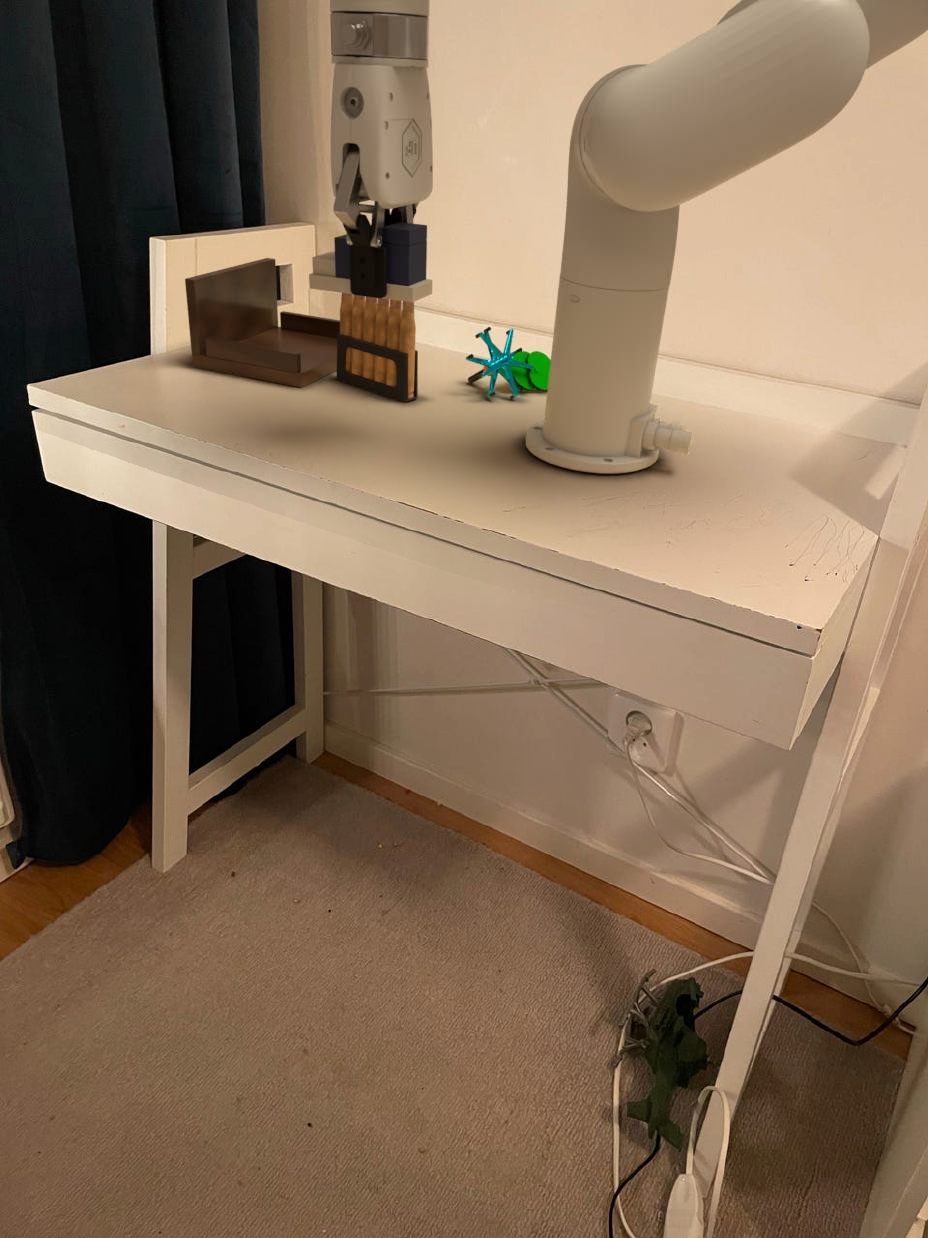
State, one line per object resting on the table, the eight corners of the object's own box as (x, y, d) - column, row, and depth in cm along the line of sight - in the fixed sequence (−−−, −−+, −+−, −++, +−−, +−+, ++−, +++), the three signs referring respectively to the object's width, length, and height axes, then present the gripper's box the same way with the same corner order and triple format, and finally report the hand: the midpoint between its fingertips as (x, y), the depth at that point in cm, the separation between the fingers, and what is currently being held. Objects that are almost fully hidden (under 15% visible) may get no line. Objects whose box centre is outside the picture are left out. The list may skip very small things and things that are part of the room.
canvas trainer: (432, 293, 81) (433, 225, 79) (412, 302, 78) (413, 230, 75) (332, 280, 85) (329, 214, 82) (309, 288, 81) (306, 219, 78)
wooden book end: (270, 337, 117) (266, 257, 112) (369, 354, 113) (370, 272, 108) (192, 366, 104) (184, 278, 99) (301, 387, 100) (298, 296, 95)
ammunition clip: (418, 399, 99) (422, 281, 93) (406, 402, 98) (409, 283, 92) (347, 376, 105) (347, 264, 99) (335, 379, 103) (334, 265, 97)
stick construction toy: (482, 385, 97) (477, 314, 98) (443, 407, 102) (438, 340, 103) (566, 404, 104) (561, 338, 105) (526, 424, 109) (521, 360, 110)
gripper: (373, 41, 64) (376, 315, 73) (466, 49, 77) (458, 279, 87) (279, 37, 66) (293, 303, 75) (385, 46, 80) (385, 270, 89)
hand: (381, 288), depth 81 cm, fingers closed on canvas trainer, 4 cm apart
